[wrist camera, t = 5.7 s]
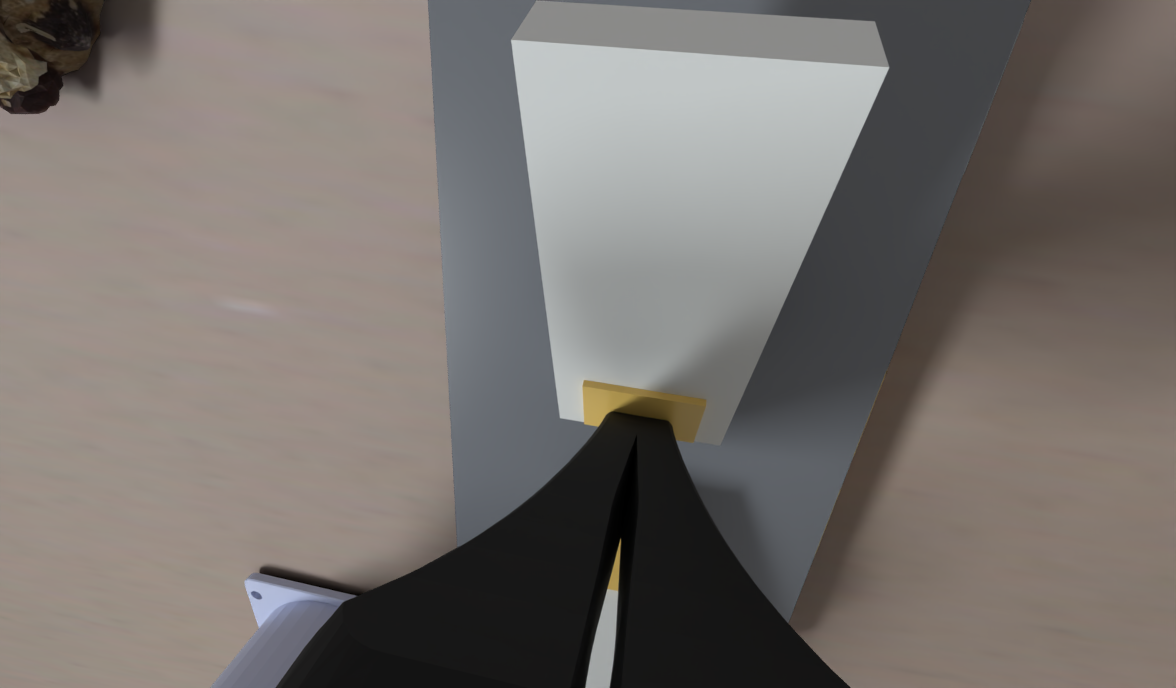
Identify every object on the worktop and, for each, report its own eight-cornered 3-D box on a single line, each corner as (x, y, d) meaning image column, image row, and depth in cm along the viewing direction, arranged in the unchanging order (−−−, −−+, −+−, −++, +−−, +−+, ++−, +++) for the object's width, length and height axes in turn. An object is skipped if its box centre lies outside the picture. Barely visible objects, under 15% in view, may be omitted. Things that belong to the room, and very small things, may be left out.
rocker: (721, 406, 12) (719, 452, 11) (569, 381, 12) (558, 423, 11) (875, 20, 5) (892, 74, 5) (536, -1, 6) (506, 46, 5)
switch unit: (750, 646, 19) (763, 773, 15) (488, 588, 20) (444, 692, 17) (973, 5, 10) (1131, -49, 6) (477, -23, 11) (378, -81, 8)
